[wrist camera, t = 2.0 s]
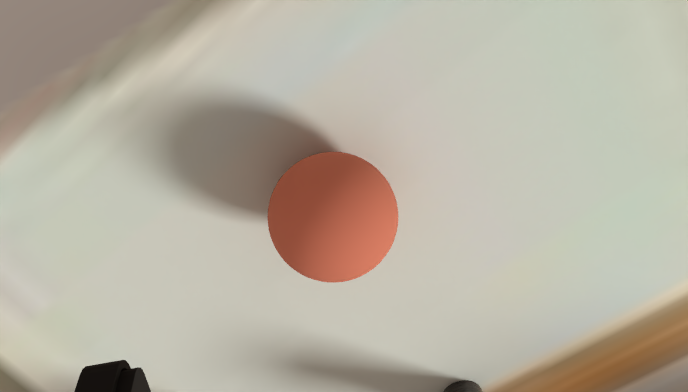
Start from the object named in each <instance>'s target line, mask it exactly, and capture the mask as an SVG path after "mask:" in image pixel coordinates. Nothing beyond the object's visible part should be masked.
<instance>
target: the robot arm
mask: <svg viewBox="0 0 688 392" xmlns="http://www.w3.org/2000/svg"><path fill="white" fill-rule="evenodd" d="M75 392H151V391H150V388H149V385H148V382H147V380H146V377H145V374H144V372H143V370H142V369H141V368H133V369H131V368H130V366H129V364H128V363H127V361H126V360H121V361H115V362H109V363H103V364H98V365H92V366H86V367H85V368H84V369H83V370H82V372H81V374H80V377H79V380H78V383H77V386H76V389H75Z"/></svg>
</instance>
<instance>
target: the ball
mask: <svg viewBox="0 0 688 392" xmlns="http://www.w3.org/2000/svg"><path fill="white" fill-rule="evenodd" d="M268 226H269V232H270V236H271V239H272V241H273V244H274V246H275V248H276V250H277V251H278V253H279V254H280V256H281V257H282V258H283V259H284V261H285V262H286V263H287V264H288V265H289V266H290V267H292V268H293V269H294V270H296V271H297V272H299V273H300V274H302V275H304V276H306V277H308V278H311V279H314V280H318V281H323V282H343V281H348V280H352V279H355V278H357V277H360V276H362V275H364V274H365V273H367V272H369V271H370V270H372V269H373V268H374V267H376V266H377V265H378V264H379V263H380V262H381V261H382V259H383V258H384V257H385V256H386V254H387V253H388V251H389V250H390V248H391V246H392V244H393V241H394V238H395V235H396V232H397V226H398V208H397V203H396V199H395V196H394V193H393V191H392V189H391V187H390V185H389V183H388V181H387V180H386V178H385V177H384V176H383V175H382V174H381V173H380V172H379V170H378V169H377V168H375V167H374V166H373V165H372V164H370V163H369V162H367V161H365V160H364V159H362V158H359V157H357V156H355V155H351V154H348V153H342V152H324V153H319V154H315V155H312V156H309V157H307V158H304V159H302V160H301V161H299V162H297V163H296V164H294V165H293V166H292V167H291V168H289V169H288V171H287V172H286V173H285V174H284V175H283V176H282V177H281V178H280V180H279V181H278V183H277V185H276V187H275V188H274V190H273V193H272V196H271V198H270V203H269V208H268Z"/></svg>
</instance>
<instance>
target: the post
mask: <svg viewBox="0 0 688 392" xmlns="http://www.w3.org/2000/svg"><path fill="white" fill-rule="evenodd" d="M444 392H482V390H481V388H480V386H479V385H478V384H476V383H474V382H471V381H459V382H456V383H453V384H451V385H450V386H448V387H447V388H446V389H445V390H444Z"/></svg>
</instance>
